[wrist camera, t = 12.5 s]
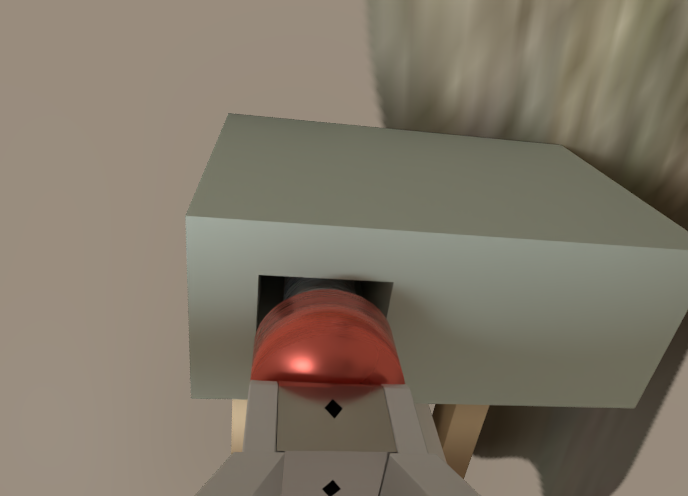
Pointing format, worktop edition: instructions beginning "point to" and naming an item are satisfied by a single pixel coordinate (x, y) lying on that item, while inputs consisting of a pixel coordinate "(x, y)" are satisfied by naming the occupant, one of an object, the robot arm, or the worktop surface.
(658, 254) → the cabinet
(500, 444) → the worktop surface
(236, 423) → the rails
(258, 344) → the plunger
